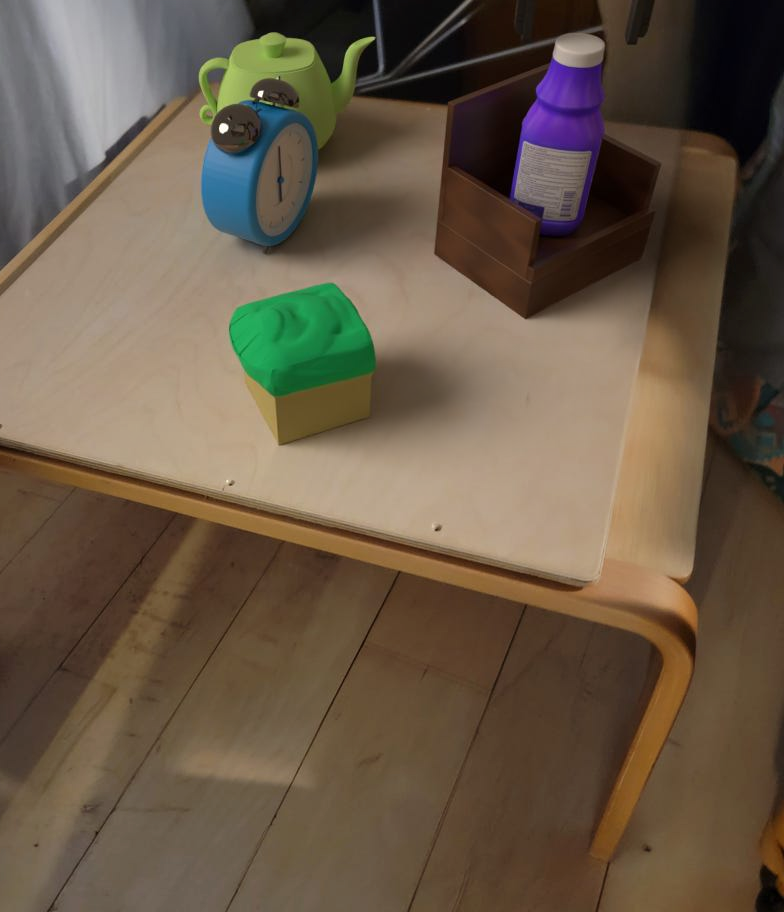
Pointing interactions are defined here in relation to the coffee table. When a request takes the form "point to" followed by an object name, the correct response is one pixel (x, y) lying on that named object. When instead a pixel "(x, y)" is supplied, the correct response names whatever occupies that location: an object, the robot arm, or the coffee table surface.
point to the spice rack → (516, 229)
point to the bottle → (562, 136)
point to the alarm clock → (260, 165)
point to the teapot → (285, 78)
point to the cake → (305, 360)
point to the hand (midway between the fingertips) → (577, 39)
